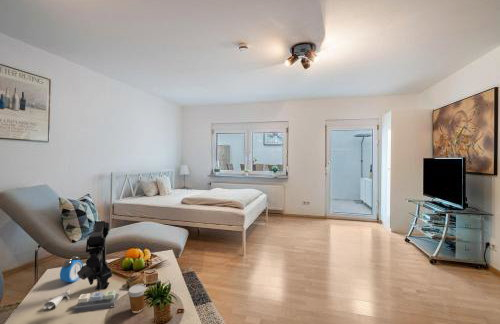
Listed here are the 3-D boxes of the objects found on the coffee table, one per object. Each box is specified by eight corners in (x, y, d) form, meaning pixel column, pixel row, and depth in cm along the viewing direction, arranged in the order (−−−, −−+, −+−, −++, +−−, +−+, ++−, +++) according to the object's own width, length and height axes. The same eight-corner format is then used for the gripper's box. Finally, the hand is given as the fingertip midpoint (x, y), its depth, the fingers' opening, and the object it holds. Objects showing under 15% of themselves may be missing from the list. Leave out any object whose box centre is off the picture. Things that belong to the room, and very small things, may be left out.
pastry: (123, 283, 159) (123, 271, 158) (147, 276, 168) (148, 265, 167) (128, 293, 148) (128, 280, 148) (153, 285, 157) (153, 273, 157)
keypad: (81, 300, 140) (81, 296, 140) (118, 295, 145) (118, 291, 145) (73, 312, 130) (73, 308, 130) (113, 307, 135) (113, 302, 135)
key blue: (94, 296, 139) (94, 292, 139) (103, 295, 140) (103, 291, 140) (91, 301, 135) (91, 297, 135) (100, 300, 136) (100, 296, 136)
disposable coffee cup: (150, 310, 133) (150, 288, 132) (131, 318, 126) (131, 295, 126) (143, 302, 140) (143, 281, 139) (125, 309, 133) (125, 288, 133)
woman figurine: (34, 304, 129) (59, 287, 147) (34, 312, 129) (58, 294, 147) (57, 304, 130) (79, 287, 148) (57, 312, 130) (79, 294, 148)
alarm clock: (68, 286, 154) (68, 263, 153) (59, 286, 154) (58, 262, 153) (83, 275, 167) (83, 254, 166) (74, 275, 167) (74, 253, 166)
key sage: (107, 295, 141) (107, 291, 141) (115, 293, 142) (115, 290, 142) (104, 299, 137) (104, 295, 136) (113, 298, 138) (113, 294, 138)
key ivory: (81, 298, 137) (81, 294, 137) (90, 297, 138) (90, 293, 138) (78, 303, 133) (77, 298, 133) (87, 301, 134) (87, 297, 134)
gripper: (69, 260, 128) (70, 289, 129) (90, 270, 119) (91, 301, 120) (91, 252, 138) (92, 279, 139) (112, 261, 129) (112, 289, 130)
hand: (96, 287), depth 132 cm, fingers open, 9 cm apart
